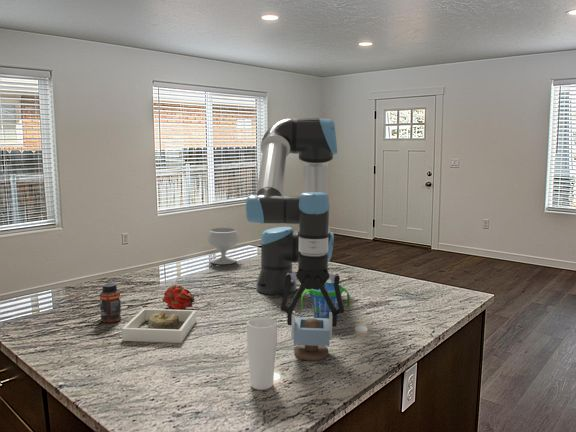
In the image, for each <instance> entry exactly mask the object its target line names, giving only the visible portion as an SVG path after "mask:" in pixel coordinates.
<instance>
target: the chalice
mask: <svg viewBox="0 0 576 432" xmlns="http://www.w3.org/2000/svg"><path fill="white" fill-rule="evenodd" d="M239 239H240V238H239V234H238V231H237V230H236V229H235V228H232V227H217V228H215V227H214V228H211V229H210V230H209V233H208V235H207V243H208V244H209V245H210V246H211V247H212V248H215V250H218V251H219V252H220V254H221V255H220V257H217V258H212V259H211V260H210V261H209V262H210V263H211V264H214V265H231V264H235V263H237V262H238V261H237V259H235V258H233V257H227V256H226V253H227V252H228V251H229V250H230V249H232V248H233V247H235V246H237V244H238V243H239Z"/></svg>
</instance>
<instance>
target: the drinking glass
mask: <svg viewBox="0 0 576 432" xmlns="http://www.w3.org/2000/svg"><path fill="white" fill-rule="evenodd" d="M277 323H278V322H277V320H275V319H274V318H270V317H265V316H263V317H262V316H261V317H260V316H259V317H254V318H251V319H249V320H247V322H246V324H247V325H246V344H247V356H248V368H249V369H248V370H249V383H250V387H251V388H252V389H254V390H258V391H265V390H268V389H271V388H272V387H273V385H274V378H275V377H274V376H275V375H274V374H275V364H276V353H277V344H278V343H277V342H278V324H277Z"/></svg>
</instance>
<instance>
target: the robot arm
mask: <svg viewBox="0 0 576 432" xmlns="http://www.w3.org/2000/svg"><path fill="white" fill-rule="evenodd" d="M336 132H337V131H336V124H335V121H334V120H332V119H331V118H321V117H316V118H315V117H313V118H307V117H305V118H303V117H302V118H296V117H295V118H293V117H289V118H284V119H282V120H279V121H276V123H274V124H273V125H271V126H270V127H269V128H268V129H267V131H266V132H265V133H264V135H263V136H262V139H261V142H260V152H261V153H262V154H261V155H262V156H261V163H260V168H259V173H258V180H257V186H256V187H257V188H256V192H255V193H256V194H254V195H253V194H252V195H249V196H247V197H246V201H245V202H246V203H245V217H246V220H247V222H249V223H255V224H256V223H257V224H288V225H289V224H291V225H293V224H294V225H298V229H297V230H298V231H294V229H293V228H292V227H291V226H279V227H277V226H276V227H273V228H269V229H265V230H264V231H263V232H262V234H261V237H260V239H261V241H260V247H261V250H260V252H261V254H260V255H261V257H260V258H261V259H260V263H261V264H260V266H261V267H260V271H259V274H258V277H257V281H256V285H255V286H256V287H255V288H256V289H255V290H256V291H257V292H258V293H262V294H265V295H271V296H278V295H280V296H281V295H283V297H282V300H281V305H280V312H283V313H286V315H287V316H286V324H287V326H291V330H290V331H291V334H290V335H291V339H292V340H294V325H295V317H296V311H295V308H296V306H297V304H298V302H299V300H301V296H302V294H303V292H304V291H305V290H306V289H315V290H319V289H320V290H321V292H322V294H323V296H324V298H325V300H326V302H327V304H328V306H329V308H330V310H331V312H329V328H330V336H329V341H332V340H333V328H335V327H337V321H338V316H337V315H339V314H343V313H344V312H345V309H344V303H343V299H342V295H341V293H340V288H339V285H340V274H339V273H335V274H333V273H330V272H329V270H328V266H329V262H330V261H331V259H332V254H333V249H334V243H335V242H334V241H335V235H334V232H333V231H331V228H330V226H329V224H330V222H329V220H330V207H331V205H330V196H329V194H328V182H329V181H328V180H329V179H328V178H329V175H328V174H329V163H331V162H332V161H333V159H334V155H337V154H338V147H337V146H338V144H337V134H336ZM289 154H297V155H298V160H299V161H300V162H301V163H302V193H300V195H299V196H298V195H297V196H296V195H295V196H294V195H284V184H285V174H286V162H287V157H288V156H289ZM293 263H297V266H298V268H297V271H296V272H293ZM296 279H297V280H298V282H299V283H300V285H299V287H298V289H297V286H298V285H297V280H296ZM328 280H330V283H334V288H335V293H336V298H337V302H338V308H336V307H335V305H334V303H333V301H332V299H331V297H330V295H329V293H328V291H327V289H326V287H325V285H324V284H325V283H327V281H328ZM294 292H296V293H295V294H294V296H293V298H292V299H291V302H290V304H289V305H287V303H288V299H289V295H290V294H292V293H294Z"/></svg>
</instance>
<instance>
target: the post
mask: <svg viewBox="0 0 576 432" xmlns="http://www.w3.org/2000/svg"><path fill="white" fill-rule="evenodd" d="M308 318H309V319H306V320H305V328H319V320H317V319H314V317H308ZM293 354H294V356H295V357H296V358H297V359H300V360H302V361H307V362H319V361H322V360H325V359H327V358H328V357H329V348H328V346H314V345H295V347H294V351H293Z"/></svg>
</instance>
